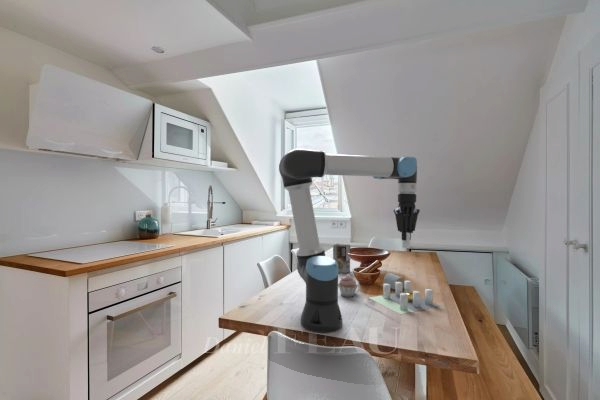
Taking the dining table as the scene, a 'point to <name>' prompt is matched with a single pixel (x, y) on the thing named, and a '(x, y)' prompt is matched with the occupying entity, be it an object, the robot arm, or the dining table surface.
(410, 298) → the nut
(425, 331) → the dining table surface
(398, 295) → the tray
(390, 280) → the ceramic mug
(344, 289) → the cupcake
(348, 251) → the coffee box
